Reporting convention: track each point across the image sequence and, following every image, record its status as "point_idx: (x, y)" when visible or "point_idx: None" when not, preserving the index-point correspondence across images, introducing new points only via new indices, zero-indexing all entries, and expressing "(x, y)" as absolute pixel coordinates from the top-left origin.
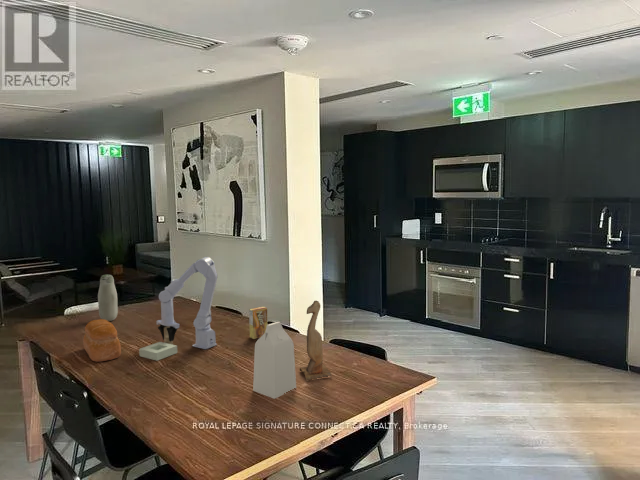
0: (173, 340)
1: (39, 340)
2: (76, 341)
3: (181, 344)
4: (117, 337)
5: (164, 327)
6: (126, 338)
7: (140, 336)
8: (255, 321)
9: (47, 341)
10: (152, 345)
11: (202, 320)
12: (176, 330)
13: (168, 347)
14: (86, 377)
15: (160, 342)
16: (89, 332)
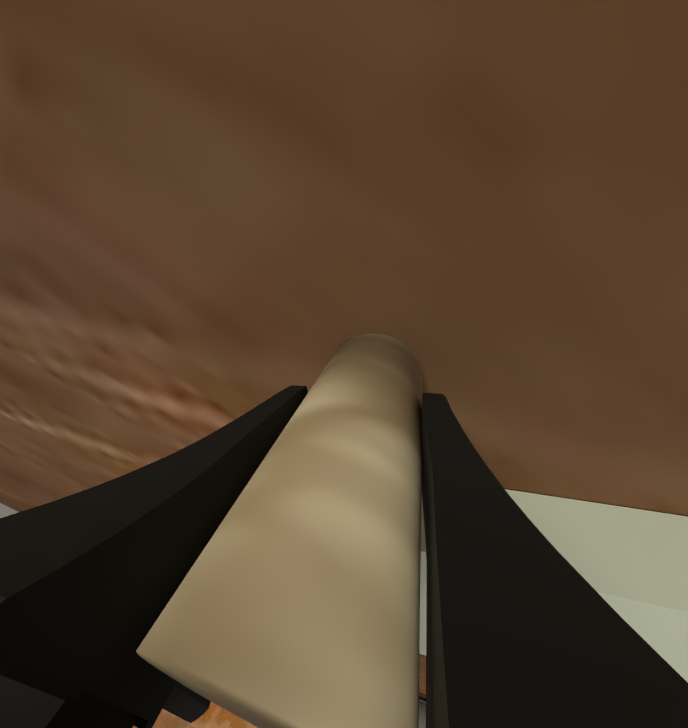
0: (445, 397)
1: (10, 504)
2: (41, 490)
3: (530, 277)
4: (237, 717)
5: (206, 696)
6: (43, 402)
7: (15, 334)
8: None
9: (23, 506)
10: (425, 612)
11: None
12: (614, 612)
13: (685, 668)
14: (424, 691)
15: (421, 560)
16: None
